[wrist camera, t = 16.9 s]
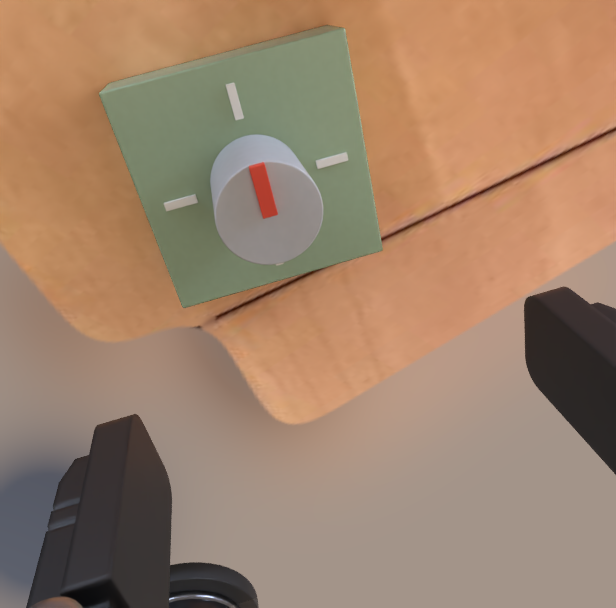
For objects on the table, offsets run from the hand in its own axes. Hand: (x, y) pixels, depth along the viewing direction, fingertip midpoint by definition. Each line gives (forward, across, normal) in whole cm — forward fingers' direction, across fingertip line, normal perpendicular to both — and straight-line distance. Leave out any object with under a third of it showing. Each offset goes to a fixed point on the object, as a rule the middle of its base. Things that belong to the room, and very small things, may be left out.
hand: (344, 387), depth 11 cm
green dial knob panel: (+18, 0, 0) cm, 18 cm away
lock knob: (+15, 0, 0) cm, 15 cm away
